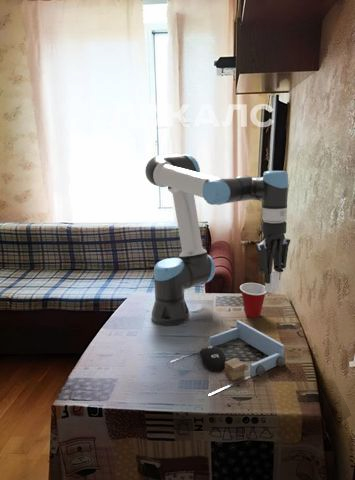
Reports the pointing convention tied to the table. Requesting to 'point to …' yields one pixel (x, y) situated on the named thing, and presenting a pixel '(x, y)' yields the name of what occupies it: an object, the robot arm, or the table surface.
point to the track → (223, 387)
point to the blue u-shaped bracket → (256, 340)
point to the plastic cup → (253, 298)
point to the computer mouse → (213, 358)
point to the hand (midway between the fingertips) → (271, 290)
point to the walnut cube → (234, 368)
